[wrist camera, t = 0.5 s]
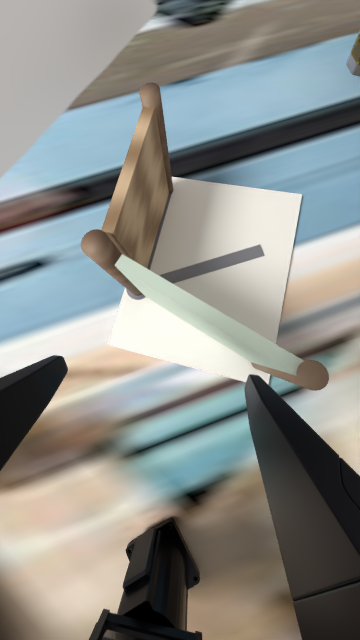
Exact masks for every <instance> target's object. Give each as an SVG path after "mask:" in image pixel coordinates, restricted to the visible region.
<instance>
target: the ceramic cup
mask: <svg viewBox="0 0 360 640" xmlns="http://www.w3.org/2000/svg"><path fill="white" fill-rule="evenodd" d="M346 64H347V66H348V68H349V70H350V71H351V73H352V74H354V75H357V76H360V32H359V35H358V37H357V39H356V41H355V44H354V46H353V48H352V51H351V53H350V55H349V57H348V60H347V63H346Z"/></svg>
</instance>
